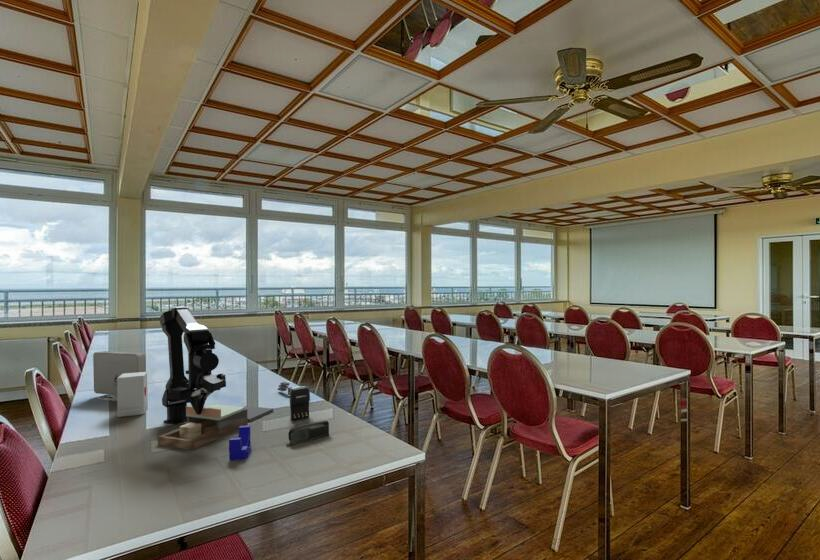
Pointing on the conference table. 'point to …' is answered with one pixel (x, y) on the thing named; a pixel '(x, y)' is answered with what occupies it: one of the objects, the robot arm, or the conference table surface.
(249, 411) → the charcoal mat
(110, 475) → the conference table surface
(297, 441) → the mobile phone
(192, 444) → the wooden box
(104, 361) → the network device
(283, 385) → the extruded letter logo
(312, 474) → the conference table surface
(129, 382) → the supplement box
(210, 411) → the sliding cover
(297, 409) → the battery charger
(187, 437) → the beech block
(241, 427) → the cable clip
